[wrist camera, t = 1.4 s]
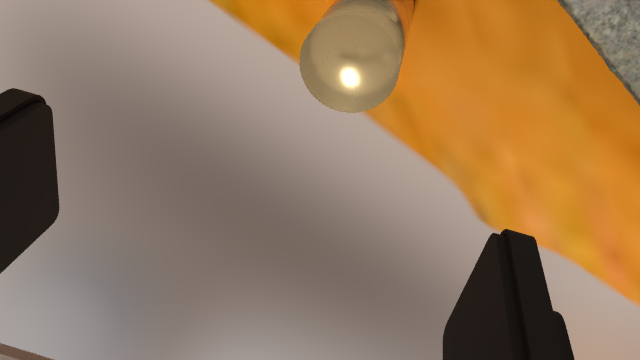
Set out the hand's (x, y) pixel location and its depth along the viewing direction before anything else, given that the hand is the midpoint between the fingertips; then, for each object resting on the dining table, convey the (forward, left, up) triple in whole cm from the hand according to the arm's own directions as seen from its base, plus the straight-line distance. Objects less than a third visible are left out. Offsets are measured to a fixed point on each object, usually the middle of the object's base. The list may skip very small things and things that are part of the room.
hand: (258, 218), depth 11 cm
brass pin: (0, 0, -19) cm, 19 cm away
